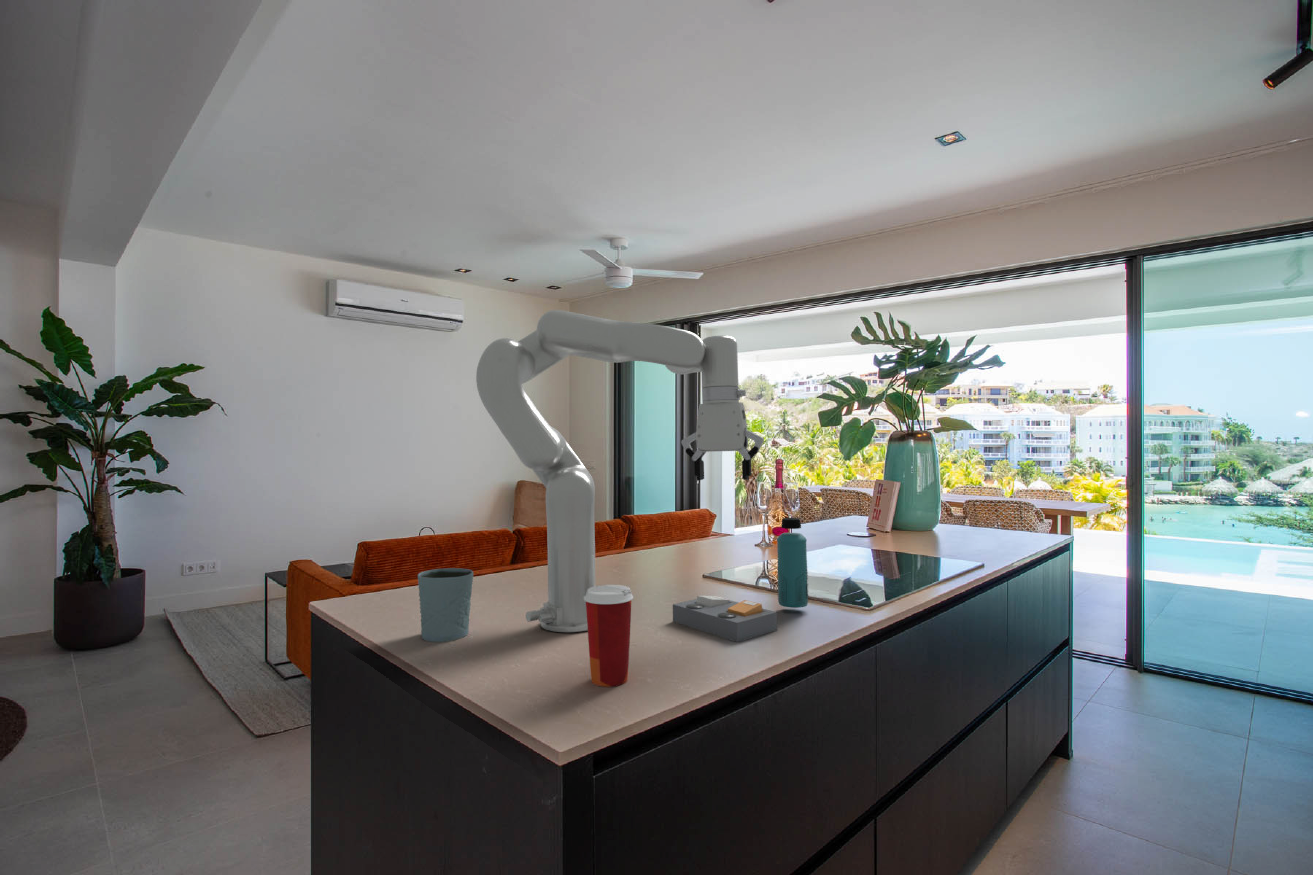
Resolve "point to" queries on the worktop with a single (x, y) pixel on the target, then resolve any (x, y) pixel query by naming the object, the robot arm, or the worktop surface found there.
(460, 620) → the grey-blue cup
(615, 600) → the paper cup
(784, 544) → the beverage bottle
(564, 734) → the worktop surface
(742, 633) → the grey switch box
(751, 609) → the labelled cardboard parcel
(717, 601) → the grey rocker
